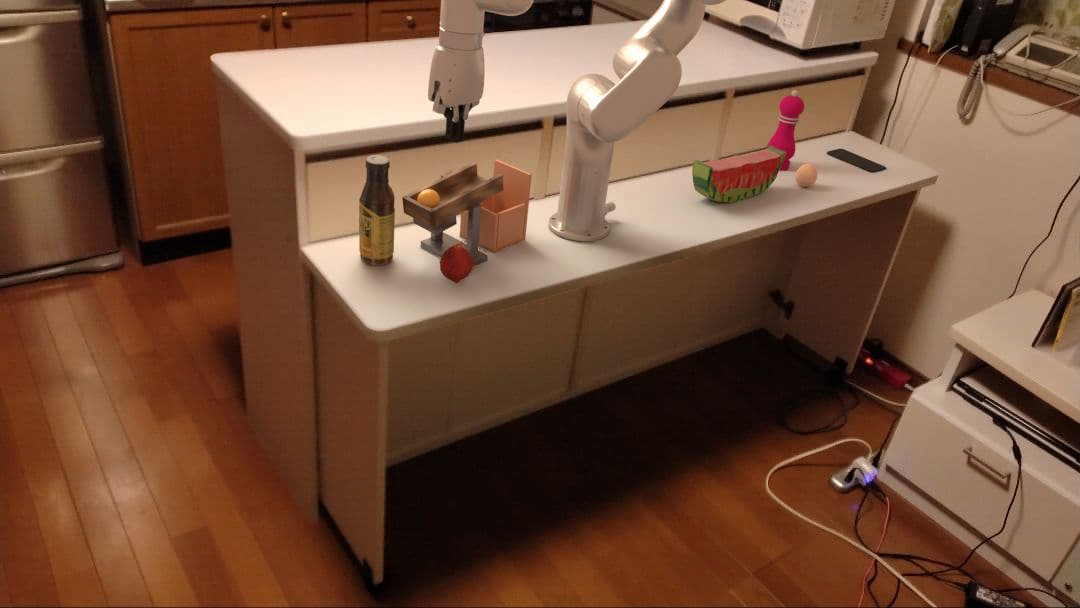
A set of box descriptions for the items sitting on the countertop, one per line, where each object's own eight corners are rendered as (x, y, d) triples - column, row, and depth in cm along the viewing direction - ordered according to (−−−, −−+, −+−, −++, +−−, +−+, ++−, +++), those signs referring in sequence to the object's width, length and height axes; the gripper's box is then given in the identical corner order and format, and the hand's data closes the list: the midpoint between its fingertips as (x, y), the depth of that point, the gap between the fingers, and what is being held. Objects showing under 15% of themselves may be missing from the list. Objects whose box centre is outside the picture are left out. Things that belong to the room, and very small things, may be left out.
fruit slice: (759, 183, 205) (768, 144, 200) (778, 192, 201) (789, 153, 196) (683, 201, 191) (691, 159, 186) (702, 211, 187) (711, 170, 181)
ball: (429, 204, 150) (429, 183, 148) (444, 211, 148) (445, 191, 146) (412, 210, 148) (412, 189, 146) (427, 217, 146) (428, 196, 144)
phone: (872, 171, 218) (825, 151, 228) (871, 174, 219) (824, 154, 229) (888, 167, 222) (841, 147, 232) (887, 170, 223) (840, 150, 233)
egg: (809, 182, 208) (815, 160, 205) (817, 191, 204) (823, 168, 201) (789, 181, 208) (795, 159, 205) (797, 190, 203) (803, 167, 200)
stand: (443, 237, 163) (445, 182, 157) (487, 260, 157) (491, 203, 151) (420, 246, 159) (422, 189, 153) (464, 270, 153) (467, 212, 147)
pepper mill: (795, 171, 214) (816, 94, 204) (770, 171, 212) (790, 94, 202) (781, 160, 220) (801, 85, 210) (757, 160, 218) (775, 85, 208)
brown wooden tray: (460, 181, 163) (459, 155, 160) (504, 201, 157) (503, 175, 154) (390, 216, 153) (387, 189, 149) (434, 239, 146) (431, 212, 143)
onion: (449, 293, 146) (451, 252, 142) (433, 278, 149) (434, 238, 145) (477, 285, 149) (480, 246, 145) (461, 271, 153) (463, 232, 149)
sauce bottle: (355, 253, 155) (353, 152, 145) (389, 249, 157) (389, 149, 147) (364, 270, 150) (362, 166, 140) (398, 266, 152) (399, 163, 142)
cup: (492, 223, 171) (496, 159, 164) (525, 239, 166) (531, 174, 159) (459, 236, 165) (463, 169, 158) (493, 253, 160) (498, 185, 153)
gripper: (475, 30, 153) (468, 126, 162) (413, 38, 142) (410, 141, 152) (505, 40, 149) (496, 138, 158) (444, 49, 138) (438, 154, 148)
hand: (454, 139), depth 155 cm, fingers closed
